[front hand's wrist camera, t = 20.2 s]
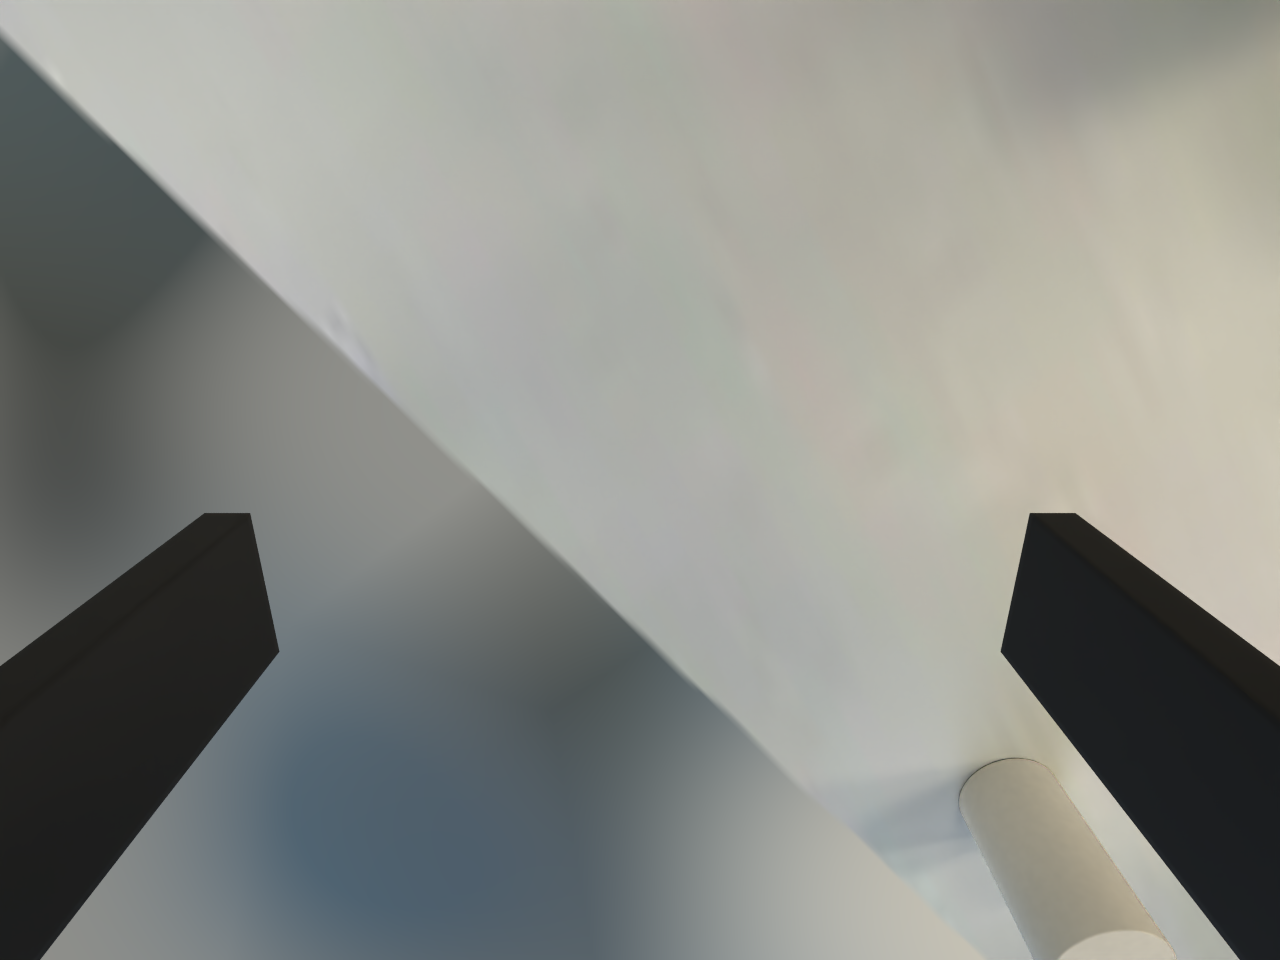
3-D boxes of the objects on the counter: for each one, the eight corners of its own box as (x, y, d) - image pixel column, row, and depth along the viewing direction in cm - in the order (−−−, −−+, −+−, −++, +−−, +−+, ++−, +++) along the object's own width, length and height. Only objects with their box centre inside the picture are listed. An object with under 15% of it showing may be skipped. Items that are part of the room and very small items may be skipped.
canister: (1025, 741, 43) (1139, 911, 33) (1076, 799, 44) (1200, 979, 34) (939, 792, 44) (1024, 970, 34) (991, 847, 46) (1087, 1032, 36)
